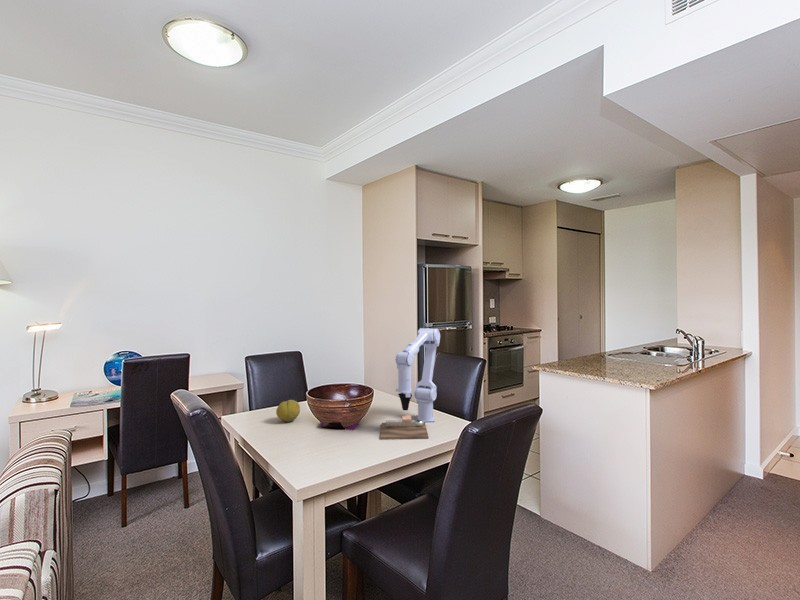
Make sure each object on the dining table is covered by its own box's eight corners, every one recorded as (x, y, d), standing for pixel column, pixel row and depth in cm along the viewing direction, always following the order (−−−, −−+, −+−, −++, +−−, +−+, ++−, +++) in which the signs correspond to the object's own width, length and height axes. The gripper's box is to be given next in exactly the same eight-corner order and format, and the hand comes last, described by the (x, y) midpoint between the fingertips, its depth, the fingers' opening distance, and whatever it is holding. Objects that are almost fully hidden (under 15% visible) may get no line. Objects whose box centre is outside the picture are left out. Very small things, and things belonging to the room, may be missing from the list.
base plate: (381, 424, 191) (381, 422, 191) (424, 424, 192) (424, 421, 192) (380, 439, 171) (380, 437, 171) (428, 438, 172) (428, 436, 172)
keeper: (420, 423, 190) (420, 414, 190) (421, 427, 183) (421, 419, 183) (402, 423, 190) (402, 415, 190) (402, 428, 183) (402, 419, 183)
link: (423, 423, 188) (423, 419, 188) (423, 426, 184) (423, 422, 184) (386, 424, 188) (385, 419, 188) (385, 427, 184) (385, 422, 184)
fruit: (305, 420, 199) (305, 400, 199) (284, 426, 190) (283, 404, 190) (293, 416, 207) (293, 396, 207) (271, 421, 198) (271, 400, 198)
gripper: (393, 376, 189) (393, 406, 189) (398, 383, 174) (399, 415, 174) (408, 375, 190) (408, 405, 190) (415, 382, 176) (415, 414, 176)
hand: (405, 409), depth 182 cm, fingers closed
